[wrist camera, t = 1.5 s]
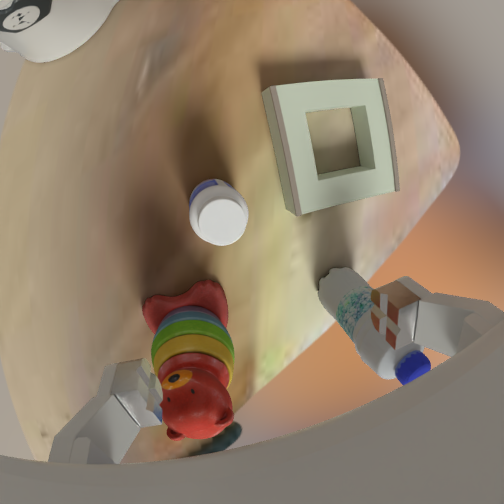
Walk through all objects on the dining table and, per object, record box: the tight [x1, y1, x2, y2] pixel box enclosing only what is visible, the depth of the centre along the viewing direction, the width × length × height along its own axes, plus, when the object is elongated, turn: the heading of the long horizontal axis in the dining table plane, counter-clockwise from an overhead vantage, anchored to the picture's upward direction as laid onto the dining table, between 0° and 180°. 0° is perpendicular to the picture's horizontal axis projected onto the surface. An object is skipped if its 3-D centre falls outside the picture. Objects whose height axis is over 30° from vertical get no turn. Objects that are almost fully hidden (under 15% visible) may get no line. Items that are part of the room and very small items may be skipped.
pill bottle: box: [189, 179, 248, 246], centre depth 28 cm, size 5×5×10 cm
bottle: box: [318, 267, 431, 385], centre depth 30 cm, size 7×7×20 cm
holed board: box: [261, 78, 400, 216], centre depth 31 cm, size 14×14×4 cm
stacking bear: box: [142, 280, 234, 441], centre depth 29 cm, size 11×10×18 cm
